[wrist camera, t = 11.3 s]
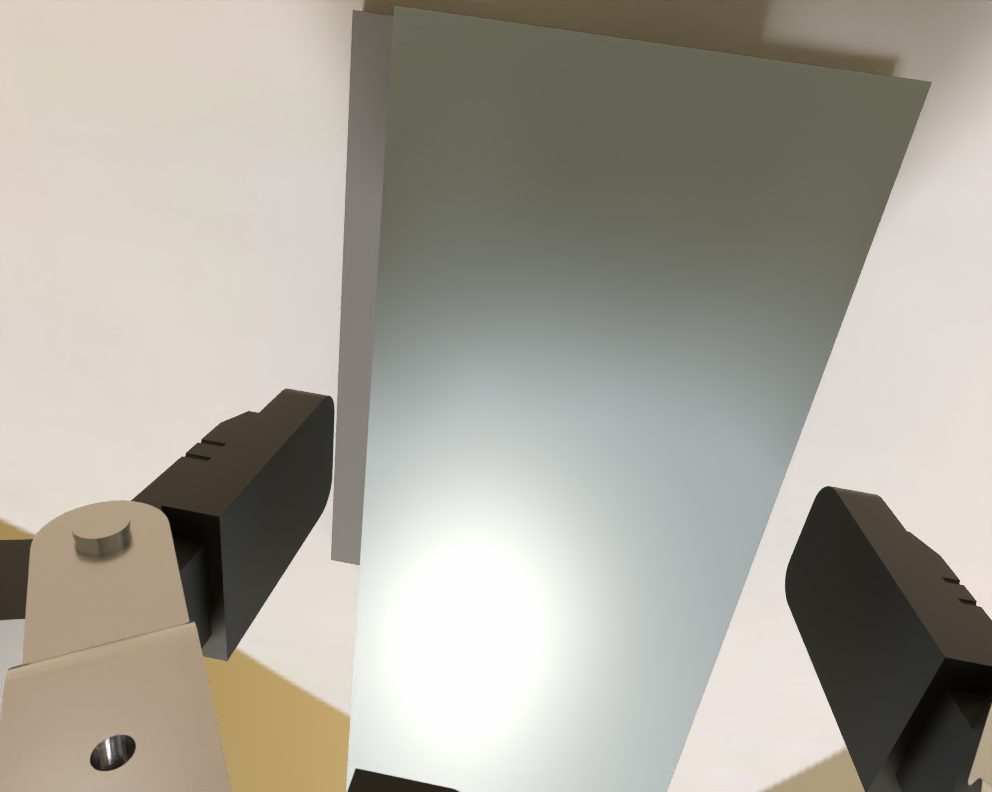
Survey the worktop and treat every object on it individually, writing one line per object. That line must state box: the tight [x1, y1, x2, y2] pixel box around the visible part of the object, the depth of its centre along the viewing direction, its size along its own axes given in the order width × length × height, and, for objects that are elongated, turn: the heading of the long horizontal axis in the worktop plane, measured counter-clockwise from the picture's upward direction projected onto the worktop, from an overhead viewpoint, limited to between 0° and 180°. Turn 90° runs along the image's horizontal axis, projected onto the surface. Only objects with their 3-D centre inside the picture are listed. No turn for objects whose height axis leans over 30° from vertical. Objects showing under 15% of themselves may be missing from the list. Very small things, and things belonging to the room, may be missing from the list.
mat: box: [331, 10, 393, 565], centre depth 16 cm, size 14×11×1 cm
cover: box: [346, 5, 932, 792], centre depth 13 cm, size 13×6×7 cm, turn 172°
